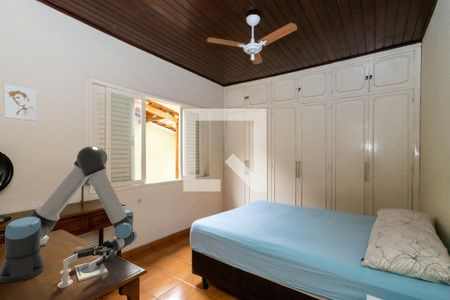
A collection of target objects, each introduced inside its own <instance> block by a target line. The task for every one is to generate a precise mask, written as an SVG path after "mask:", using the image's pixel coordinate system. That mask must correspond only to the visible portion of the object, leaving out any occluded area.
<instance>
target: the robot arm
mask: <svg viewBox="0 0 450 300" xmlns="http://www.w3.org/2000/svg"><path fill="white" fill-rule="evenodd" d="M107 161H108V155H107V152H106V151H105V150H104V149H102V148H101V147H100V146H85V147H83V148H82V149H80V150H79V151H78V153H77V156H76V160H75V161H74V163H73V169H72V170H71V171H70V173H69V174H67V176H66V177H65V178H64V179H63V181H62V182H61V183H60V184H59V185H58V186H57V188H56V189H55V190H54V192H53V193H52V194H51V195H50V196H49V197H48V198H47V200H46V201H45V202H44V203H43V204H42V205H41V206H37V207H36V208H35V209H34V210H33V211H32V212H31V214H30V215H29V216H26V217H25V216H24V217H20V218H19V219H15V220H12V221H10V222H9V223H8V224H6V227H5V232H4V236H5V237H4V261H3V263H2V266H1V268H0V283H2V284H8V283H9V284H10V283H18V282H22V281H26V280H28V279H31V278H34V277H35V276H38V275H39V274H41V273H42V272H43V271H44V270H45V261H44V259H43V257H42V254H41V245H40V240H41V239H42V238H43V237H44V236H45V235H47V234H48V235H49V233H51V231H53V229H54V228H55V225H56V223H57V222H58V221H59V220H60V219H61V217H60V214H61V213H62V211H63V210H64V209H65V208H66V206H68V204H69V203H70V202H71V200H72V199H73V198H74V197H75V195H76V194H77V193H78V192H79V190H80V189H81V188H82V187H83V185H84V184H85V183H86V182H87V180H89V182H90V183H91V186H92V187H93V190H94V191H95V193H96V196H97V197H98V199H99V201H100V203H101V206H103V209H104V211H105V213H106V215H107V217H108V218H109V221H110V223H111V224H112V227H113V228H114V235H115V236H113V237H111V238H109V239H107V240H105V241H104V242H103V243H102V244H101V245H99V246H96V245H93V246H90V247H89V246H88V247H86V248H82V249H79V250H74V251H73V255H71V256H69V257H66V258H65V259H68V265H70V264H73V262H76V261H78V260H79V259H81V258H86V257H95V256H99V258H97V259H96V260H93V261H94V262H92V261H91V262H92V263H90V264H89V266H88V271H91V270H92V269H94V268H96V267H97V266H100V265H101V264H104V265H105V264H110V263H111V262H112V260H113V258H114V257H115V256H116V255H117V254H118V253H117V252H118V251H121V250H122V249H124V248H126V247H127V246H131V244H133V243H134V242H135V241H136V240H137V237H138V236H137V232H136V230H134V211H133V210H131V209H125V208H124V207H123V205H122V202H121V201H120V199H119V197H118V195H117V192H116V191H115V189H114V187H113V185H112V184H111V181H110V179H109V177H108V175H107V173H106V170H107V168H106V166H105V165H106V163H107ZM100 256H101V257H100ZM65 259H63V261H62V266H64V260H65Z"/></svg>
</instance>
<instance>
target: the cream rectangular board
mask: <svg viewBox="0 0 450 300" xmlns="http://www.w3.org/2000/svg"><path fill="white" fill-rule="evenodd" d="M94 261H95V260H93V261H89V262H86V263H81V264H77V265H74V271H75V274H76V277H77V280H78V282H81V281H85V280H88V279H91V278H95V277H99V276H101V275H104V274H108V272H109V271H108V269H107V267H106V265H105V263H104V264H101V265H100V266H97V267H96V268H94V269H92V270H91V271H88V266H89V264H90V263H92V262H94Z"/></svg>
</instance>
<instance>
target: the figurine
mask: <svg viewBox="0 0 450 300" xmlns="http://www.w3.org/2000/svg"><path fill="white" fill-rule="evenodd" d="M49 239H50V237H49V236H48V235H47V234H46V235H45V236H44V237H43V238H42V239H41V240H40V246H44V245H46V244H47V242H48V241H49Z"/></svg>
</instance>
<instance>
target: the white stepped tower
mask: <svg viewBox="0 0 450 300" xmlns="http://www.w3.org/2000/svg"><path fill="white" fill-rule="evenodd" d="M63 260H64V259H63ZM62 266H63V265H62ZM71 271H72V268H69V264H68V259H66V258H65V260H64V266H63V269H62V270H60V271H59V273H60V274H61V276H62V277H61V278H60V281H59V283H58V284H57V287H58V288H59V289H63V288H67V287H70V286H72V285H73V283H74V280H73V279H71V276H70V274H69V273H70V272H71Z"/></svg>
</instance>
